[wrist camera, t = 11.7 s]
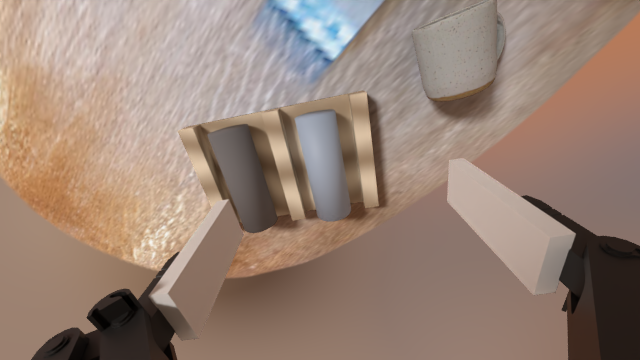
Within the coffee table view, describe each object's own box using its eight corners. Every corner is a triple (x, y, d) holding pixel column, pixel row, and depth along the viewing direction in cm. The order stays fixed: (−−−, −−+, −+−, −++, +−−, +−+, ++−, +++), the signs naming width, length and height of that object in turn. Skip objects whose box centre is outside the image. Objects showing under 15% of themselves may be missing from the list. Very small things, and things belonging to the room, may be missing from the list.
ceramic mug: (417, 101, 32) (446, 109, 25) (401, 34, 29) (429, 22, 22) (499, 67, 30) (555, 66, 23) (492, -7, 27) (555, -35, 20)
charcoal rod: (200, 135, 30) (217, 136, 27) (236, 124, 33) (255, 124, 30) (238, 226, 36) (255, 237, 32) (265, 209, 39) (284, 217, 35)
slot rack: (187, 126, 33) (177, 130, 30) (362, 90, 31) (366, 92, 29) (228, 222, 39) (222, 232, 37) (374, 197, 38) (378, 206, 35)
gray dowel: (349, 199, 37) (353, 217, 33) (317, 205, 37) (317, 223, 33) (333, 107, 31) (336, 113, 27) (296, 115, 32) (292, 122, 27)
